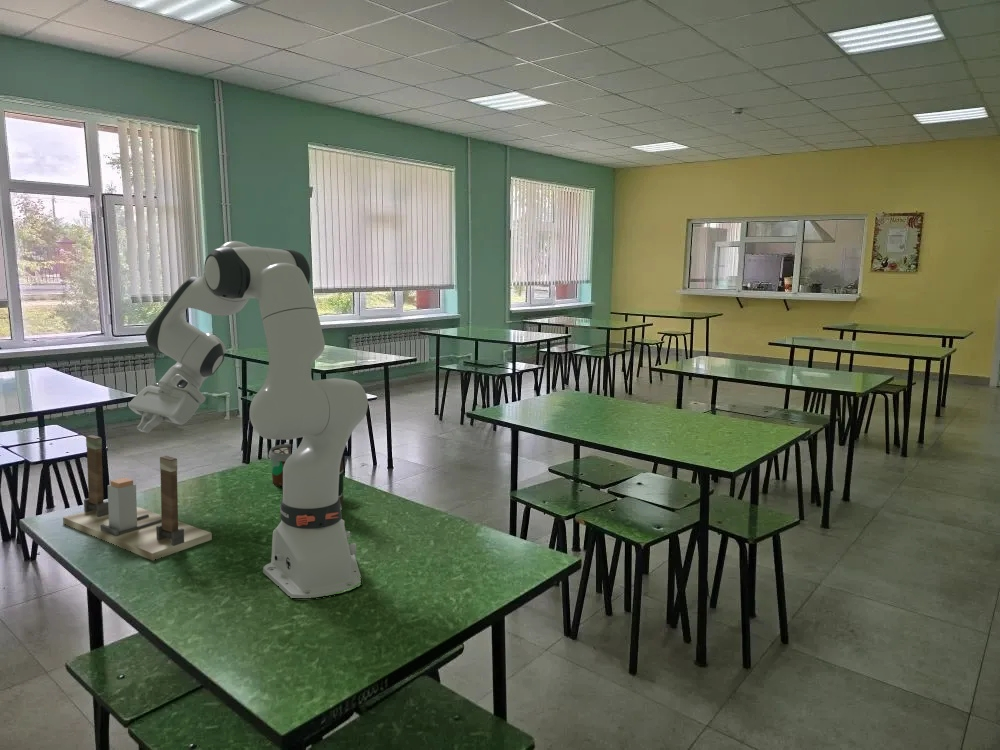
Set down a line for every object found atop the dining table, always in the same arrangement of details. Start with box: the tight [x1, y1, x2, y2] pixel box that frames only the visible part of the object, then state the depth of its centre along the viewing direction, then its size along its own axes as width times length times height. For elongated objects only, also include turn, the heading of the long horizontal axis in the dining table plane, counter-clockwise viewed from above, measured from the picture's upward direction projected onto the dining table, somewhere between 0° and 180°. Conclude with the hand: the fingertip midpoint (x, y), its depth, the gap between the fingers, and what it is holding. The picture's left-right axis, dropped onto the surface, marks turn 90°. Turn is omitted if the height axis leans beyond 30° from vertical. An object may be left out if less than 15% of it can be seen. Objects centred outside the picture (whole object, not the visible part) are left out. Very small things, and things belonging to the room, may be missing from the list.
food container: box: [267, 443, 292, 487], centre depth 191 cm, size 12×6×10 cm, turn 17°
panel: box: [62, 497, 213, 562], centre depth 152 cm, size 34×14×5 cm, turn 60°
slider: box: [107, 477, 138, 532], centre depth 149 cm, size 4×4×11 cm
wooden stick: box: [85, 434, 104, 511], centre depth 157 cm, size 2×4×18 cm, turn 60°
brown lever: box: [159, 455, 179, 539], centre depth 143 cm, size 2×4×18 cm, turn 60°
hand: (141, 430), depth 165 cm, fingers closed
